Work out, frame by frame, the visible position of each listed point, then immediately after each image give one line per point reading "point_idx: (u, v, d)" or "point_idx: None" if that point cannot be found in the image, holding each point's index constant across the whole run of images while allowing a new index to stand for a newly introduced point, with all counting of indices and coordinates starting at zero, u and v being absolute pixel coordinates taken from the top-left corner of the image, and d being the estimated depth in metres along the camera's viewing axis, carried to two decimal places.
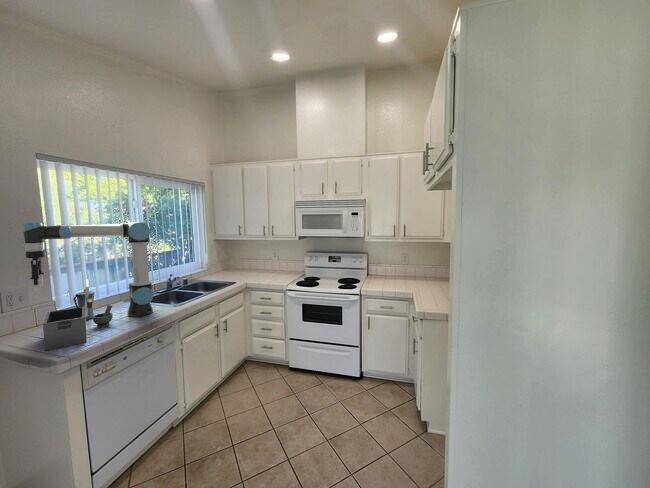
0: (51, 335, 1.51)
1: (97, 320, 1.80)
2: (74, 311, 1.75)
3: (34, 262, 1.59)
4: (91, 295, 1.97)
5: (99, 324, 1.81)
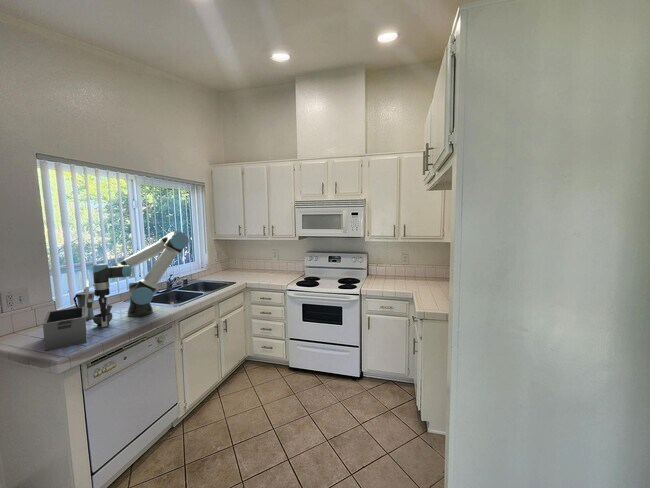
0: (51, 335, 1.51)
1: (97, 320, 1.80)
2: (74, 311, 1.75)
3: (103, 301, 1.79)
4: (91, 295, 1.97)
5: (99, 324, 1.82)
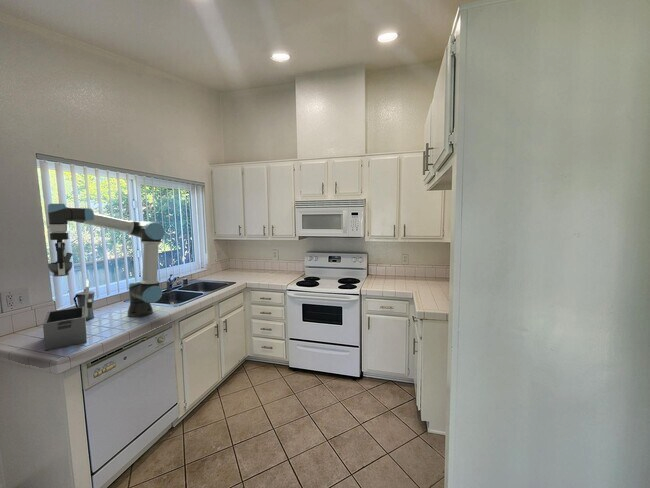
0: (51, 335, 1.51)
1: (53, 267, 1.56)
2: (74, 311, 1.75)
3: (59, 245, 1.55)
4: (91, 295, 1.97)
5: (55, 272, 1.58)
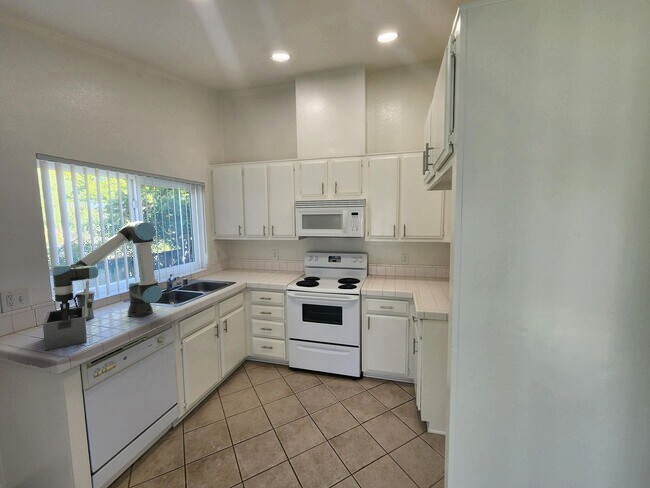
0: (51, 335, 1.51)
1: None
2: (74, 311, 1.75)
3: (64, 306, 1.58)
4: (91, 295, 1.97)
5: None
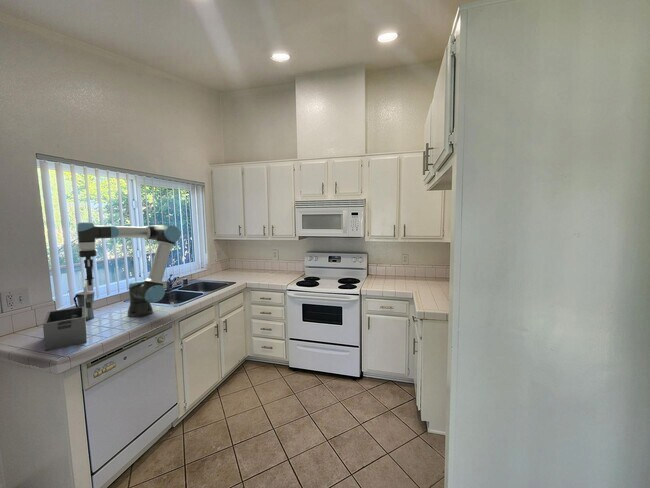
0: (51, 335, 1.51)
1: None
2: (74, 311, 1.75)
3: (88, 265, 1.64)
4: (91, 295, 1.97)
5: None
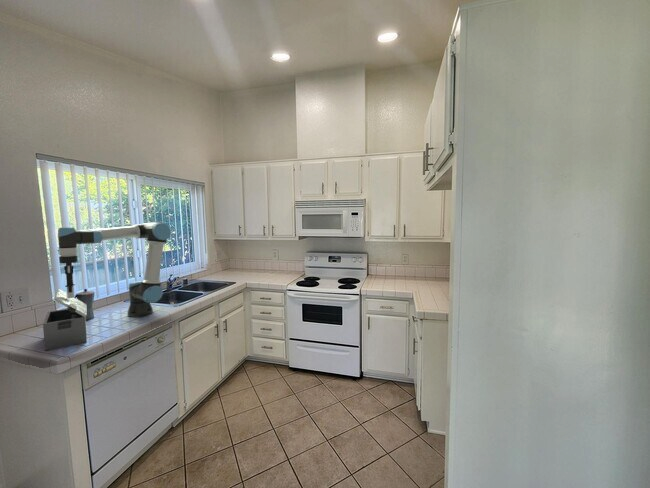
0: (51, 335, 1.51)
1: None
2: None
3: (68, 271, 1.59)
4: (91, 295, 1.97)
5: None
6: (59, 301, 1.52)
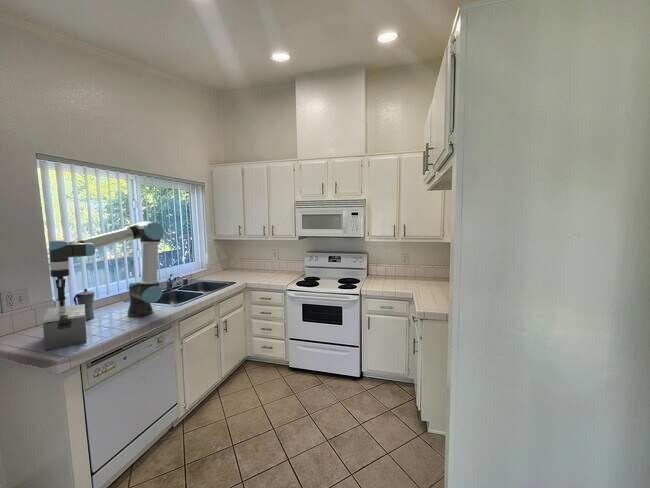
0: (51, 335, 1.51)
1: None
2: None
3: (60, 285, 1.57)
4: (91, 295, 1.97)
5: None
6: (49, 320, 1.50)
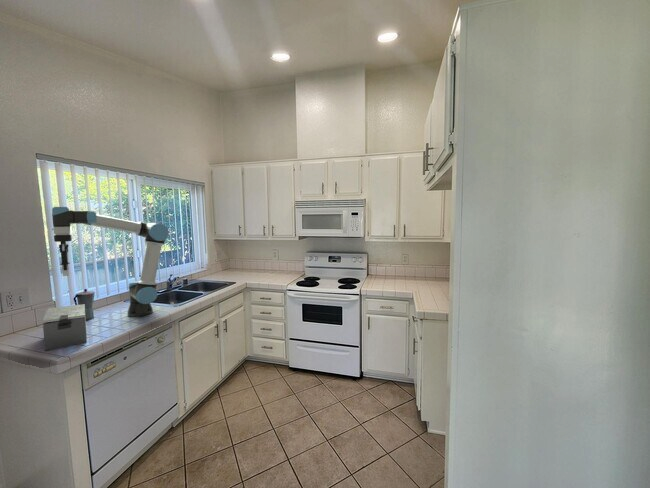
0: (51, 335, 1.51)
1: None
2: None
3: (63, 249, 1.63)
4: (91, 295, 1.97)
5: None
6: (49, 320, 1.50)
